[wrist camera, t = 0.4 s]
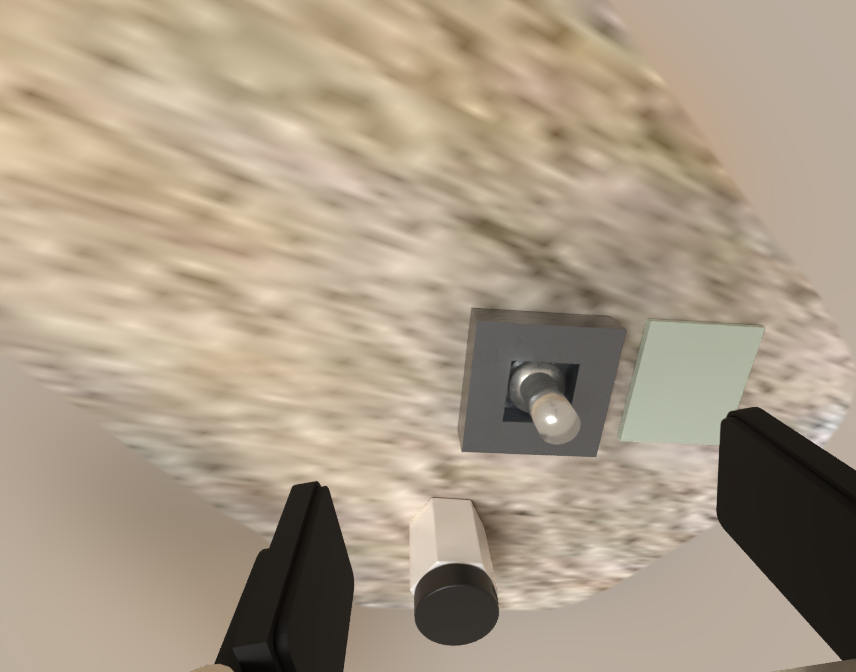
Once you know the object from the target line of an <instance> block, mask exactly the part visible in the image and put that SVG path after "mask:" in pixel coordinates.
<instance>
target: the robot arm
mask: <svg viewBox="0 0 856 672" xmlns="http://www.w3.org/2000/svg"><path fill="white" fill-rule="evenodd" d="M716 511H717V517H718V520H719V522H720V524H721V526H722V527H723V528H724V530H725V531H726V532H727V533H728V534H729V535H730V536H731V537H732V538H733V540H734V541H735V542H736V543H737V544H738V545H739V546H740V547H741V548H742V550H743V551H744V552H745V553H746V554H747V555H748V556H749V557H750V559H752V561H753V562H754V563H755V564H756V565H757V566H758V567H759V568H760V570H761V571H762V572H763V573H764V574H765V575H766V576H767V577H768V579H769V580H770V581H771V582H772V583H773V584H774V585H775V586H776V587H777V588H778V589H779V591H780V592H781V593H782V594H783V595H784V596H785V597H786V599H788V601H789V602H790V603H791V604H792V605H793V606H794V607H795V609H797V610H798V612H799V613H800V614H801V615H802V616H803V617H804V618H805V620H806V621H807V622H808V623H809V624H810V625H811V626H812V627H813V628H814V630H815V631H816V632H817V633H818V634H819V635H820V636H821V637H822V638H823V640H824V641H825V642H826V643H827V644H828V645H829V646H830V647H831V648H832V650H833V651H834V652H835V653H836V654H837V655H838V656H839V657H840V659H841V660H842V661H838V662H832V663H825V664H818V665H812V666H806V667H799V668H793V669H786V670H780V671H773V672H856V470H854V469H853V468H851V467H849V466H848V465H847V464H845V463H844V462H842V461H840V460H839V459H837V458H836V457H834V456H833V455H831V454H830V453H828V452H827V451H825V450H824V449H822V448H821V447H819V446H818V445H816V444H814V443H813V442H811V441H810V440H808V439H807V438H805V437H804V436H802V435H801V434H799V433H798V432H796V431H795V430H793V429H792V428H790V427H788V426H787V425H785V424H784V423H782V422H781V421H779V420H778V419H776V418H775V417H773V416H772V415H770V414H769V413H767V412H766V411H764V410H762V409H761V408H758V407H751V408H745V409H739V410H734V411H730V412H728V414H727V416H726V418H724V419H723V420H722V421H721V424H720V444H719V465H718V487H717V508H716ZM353 593H354V576H353V571H352V567H351V564H350V560H349V557H348V554H347V550H346V547H345V543H344V540H343V536H342V533H341V529H340V526H339V522H338V519H337V515H336V512H335V508H334V505H333V501H332V498H331V495H330V491H329V488H328V487H327V486H323V487H321V485H320V483H319V482H318V481H315V482H309V483H303V484H297V485H294V486H293V487H292V489H291V491H290V494H289V497H288V499H287V502H286V505H285V507H284V510H283V513H282V515H281V518H280V521H279V523H278V526H277V529H276V531H275V534H274V537H273V539H272V542H271V545H270V548H268V549H263V550H262V551H260V552H259V554H258V556H257V558H256V561H255V563H254V565H253V568H252V570H251V573H250V575H249V578H248V580H247V583H246V586H245V588H244V590H243V593H242V596H241V598H240V601H239V603H238V606H237V608H236V611H235V613H234V616H233V618H232V621H231V623H230V626H229V629H228V631H227V633H226V636H225V638H224V641H223V643H222V646H221V648H220V651H219V653H218V656H217V658H216V661H215V664H213V665H206V666H203V667H200V668H198V669H195V670H193V671H191V672H343V669H344V662H345V654H346V646H347V639H348V630H349V623H350V615H351V608H352V600H353Z"/></svg>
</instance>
